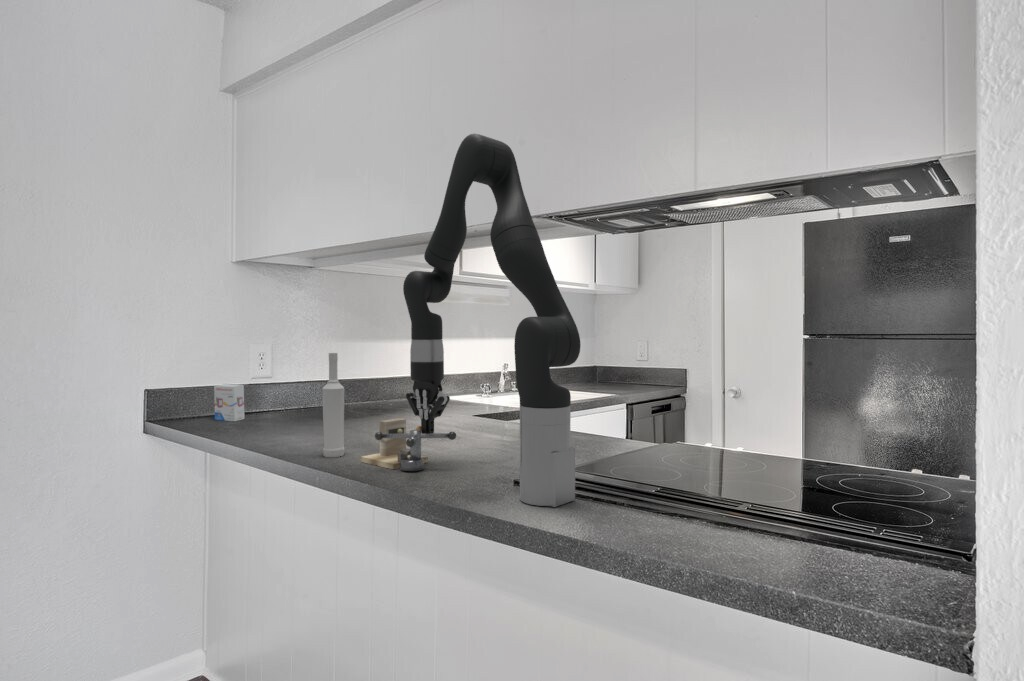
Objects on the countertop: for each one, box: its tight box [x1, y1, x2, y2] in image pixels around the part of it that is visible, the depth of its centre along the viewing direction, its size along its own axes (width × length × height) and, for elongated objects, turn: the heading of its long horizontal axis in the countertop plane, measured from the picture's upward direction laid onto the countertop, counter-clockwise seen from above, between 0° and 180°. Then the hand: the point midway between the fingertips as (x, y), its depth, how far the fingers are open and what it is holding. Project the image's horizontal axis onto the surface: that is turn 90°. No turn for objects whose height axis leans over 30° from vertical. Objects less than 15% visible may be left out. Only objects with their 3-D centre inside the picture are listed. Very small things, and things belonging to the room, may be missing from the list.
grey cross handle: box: [374, 425, 457, 472], centre depth 139 cm, size 18×18×8 cm
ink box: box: [213, 383, 245, 422], centre depth 212 cm, size 9×5×12 cm, turn 73°
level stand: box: [360, 418, 429, 470], centre depth 146 cm, size 14×10×9 cm
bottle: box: [321, 352, 346, 458], centre depth 154 cm, size 5×5×25 cm
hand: (427, 435), depth 144 cm, fingers closed
